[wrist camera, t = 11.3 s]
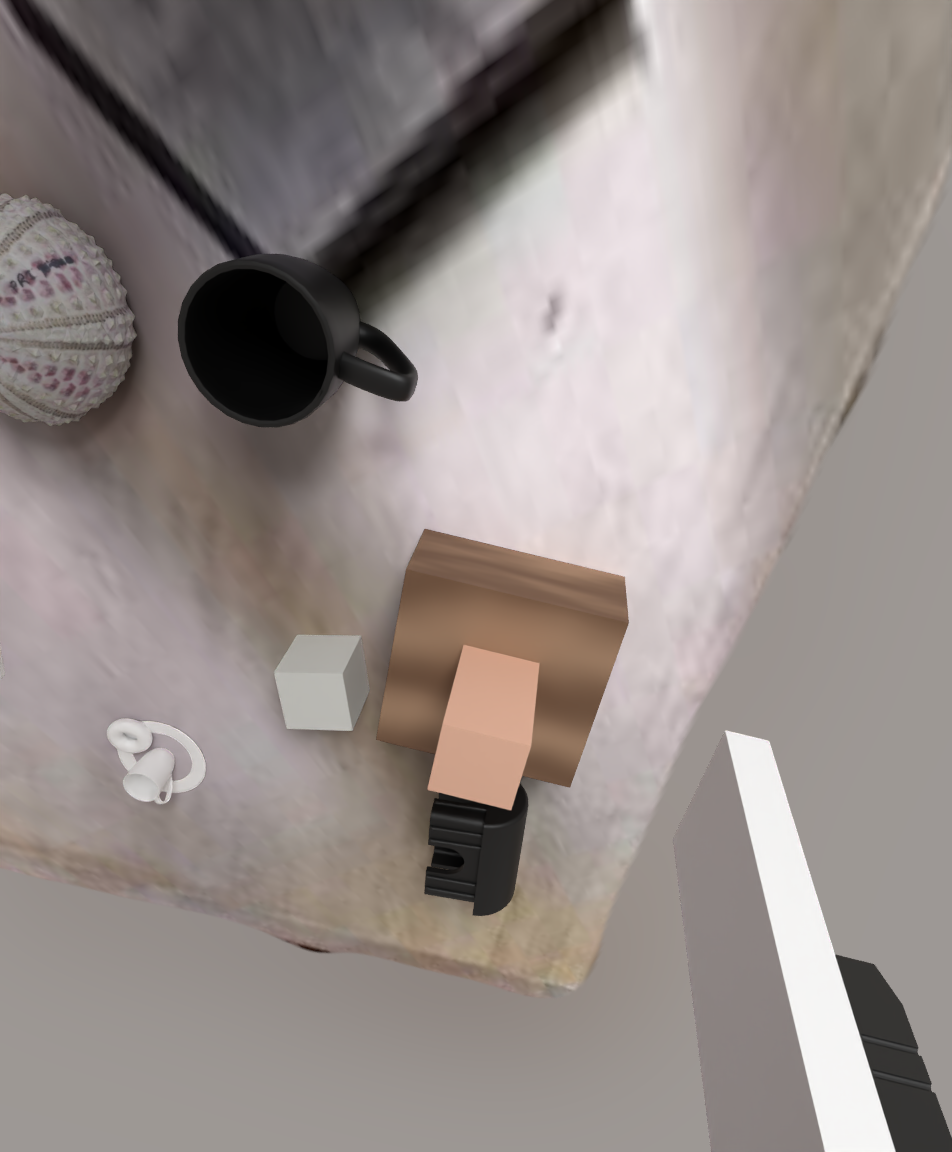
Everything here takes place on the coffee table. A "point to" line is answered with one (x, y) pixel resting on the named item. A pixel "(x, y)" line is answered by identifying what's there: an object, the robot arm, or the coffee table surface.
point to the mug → (281, 341)
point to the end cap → (476, 851)
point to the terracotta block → (486, 728)
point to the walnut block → (503, 642)
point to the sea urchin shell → (57, 316)
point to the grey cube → (323, 682)
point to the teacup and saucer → (153, 760)
